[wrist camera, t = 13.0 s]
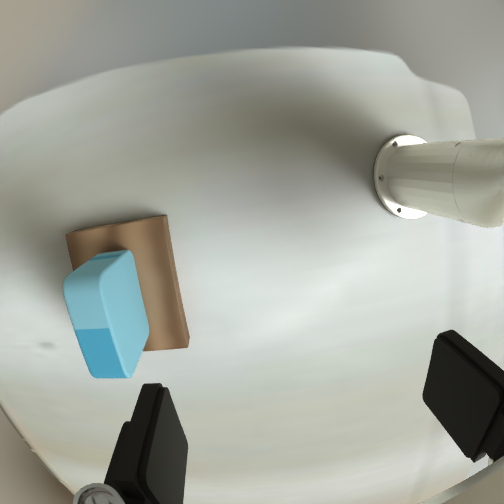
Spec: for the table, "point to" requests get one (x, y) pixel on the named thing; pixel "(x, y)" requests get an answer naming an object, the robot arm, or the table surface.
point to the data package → (108, 313)
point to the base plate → (142, 272)
